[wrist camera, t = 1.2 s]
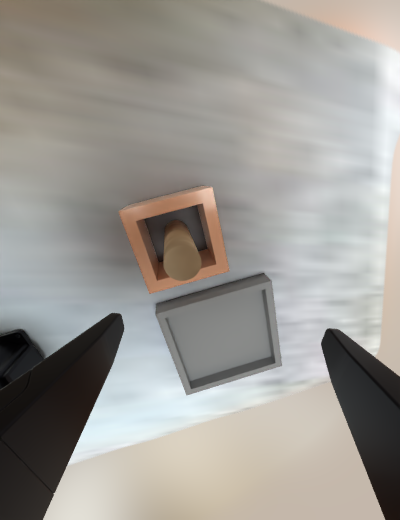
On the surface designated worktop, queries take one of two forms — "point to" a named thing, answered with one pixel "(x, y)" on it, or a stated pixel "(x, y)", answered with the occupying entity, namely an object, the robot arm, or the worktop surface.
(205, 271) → the terracotta square hollow block
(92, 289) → the worktop surface
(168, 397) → the worktop surface
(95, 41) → the worktop surface
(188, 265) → the dowel pin
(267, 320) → the charcoal tray
